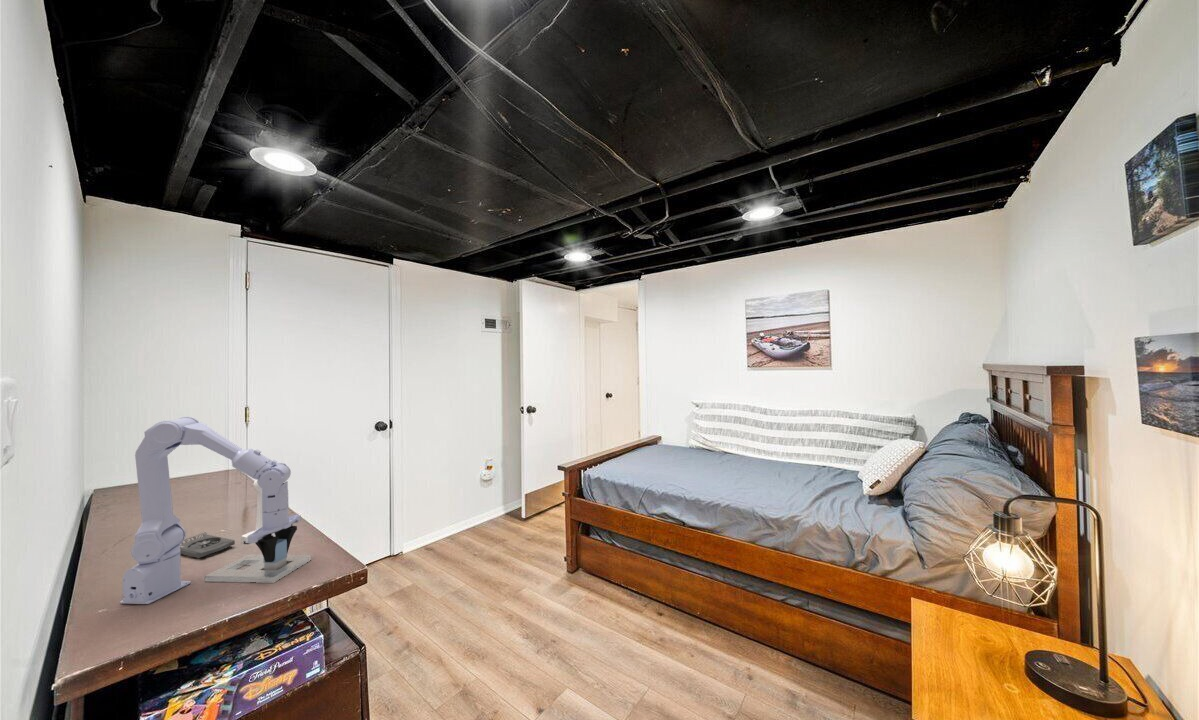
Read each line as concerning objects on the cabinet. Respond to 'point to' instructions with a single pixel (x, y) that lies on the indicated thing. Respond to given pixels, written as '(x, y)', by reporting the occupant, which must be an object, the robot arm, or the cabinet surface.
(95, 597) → the cabinet surface
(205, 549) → the graphics card
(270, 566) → the plug
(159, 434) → the robot arm
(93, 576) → the cabinet surface
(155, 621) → the cabinet surface
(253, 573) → the panel
